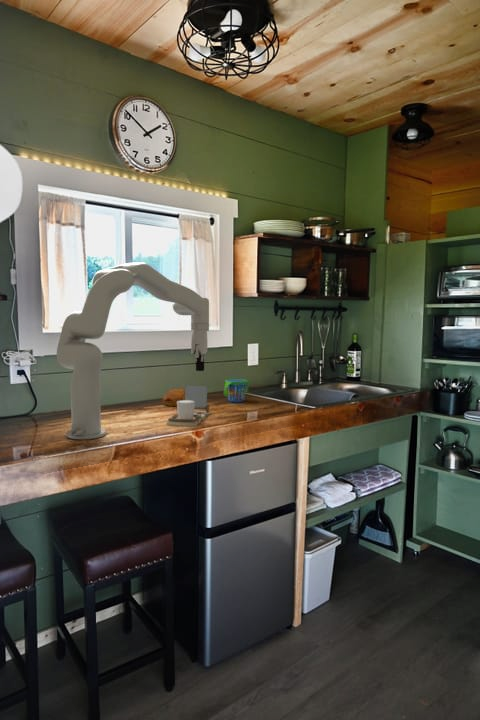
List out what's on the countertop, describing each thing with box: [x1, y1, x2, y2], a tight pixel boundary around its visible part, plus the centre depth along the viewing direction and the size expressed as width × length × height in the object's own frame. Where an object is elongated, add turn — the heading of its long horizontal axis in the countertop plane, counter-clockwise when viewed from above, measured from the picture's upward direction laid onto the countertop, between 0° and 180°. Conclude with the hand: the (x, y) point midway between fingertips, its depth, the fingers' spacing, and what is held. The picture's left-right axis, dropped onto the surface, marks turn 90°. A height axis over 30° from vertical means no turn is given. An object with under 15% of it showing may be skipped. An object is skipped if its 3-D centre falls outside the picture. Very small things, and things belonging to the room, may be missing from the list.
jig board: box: [166, 404, 210, 427], centre depth 195 cm, size 22×11×4 cm, turn 170°
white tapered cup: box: [176, 400, 195, 420], centre depth 189 cm, size 7×7×7 cm
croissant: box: [162, 388, 186, 407], centre depth 227 cm, size 14×16×8 cm
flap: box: [185, 385, 208, 411], centre depth 205 cm, size 10×9×1 cm
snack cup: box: [223, 378, 249, 403], centre depth 234 cm, size 16×10×10 cm
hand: (200, 370), depth 210 cm, fingers closed
